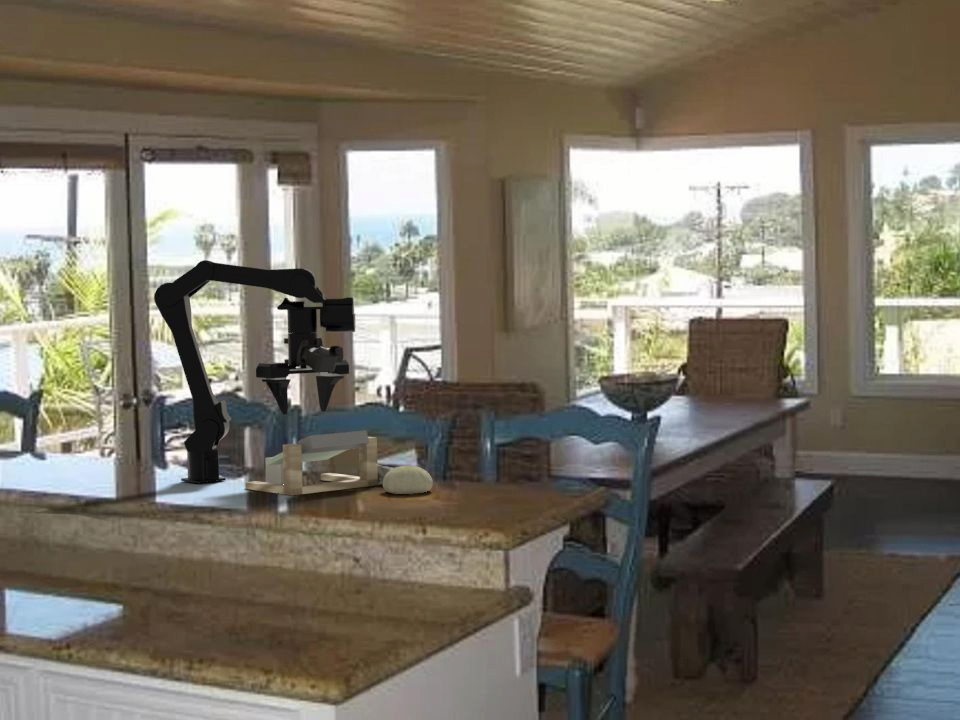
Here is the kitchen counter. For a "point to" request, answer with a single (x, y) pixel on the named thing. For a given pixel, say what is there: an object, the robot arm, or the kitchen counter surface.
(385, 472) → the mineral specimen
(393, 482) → the sea urchin shell
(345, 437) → the trapdoor
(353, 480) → the frame
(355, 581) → the kitchen counter surface
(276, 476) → the off-white cube
